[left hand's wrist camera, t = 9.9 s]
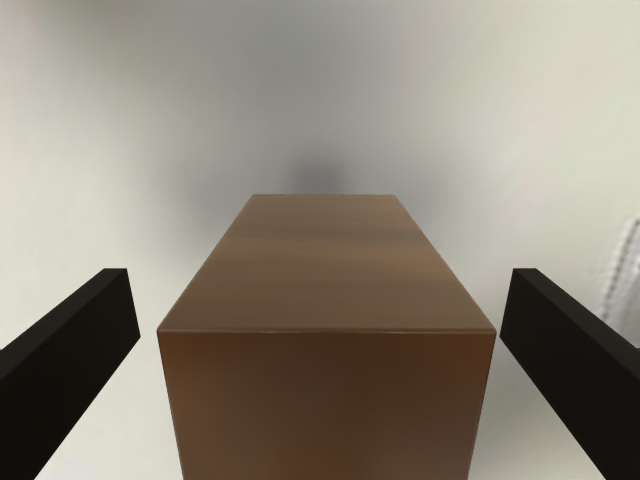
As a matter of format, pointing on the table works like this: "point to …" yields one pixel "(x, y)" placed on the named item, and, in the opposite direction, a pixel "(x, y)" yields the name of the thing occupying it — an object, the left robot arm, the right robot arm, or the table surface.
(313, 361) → the bar
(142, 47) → the table surface
